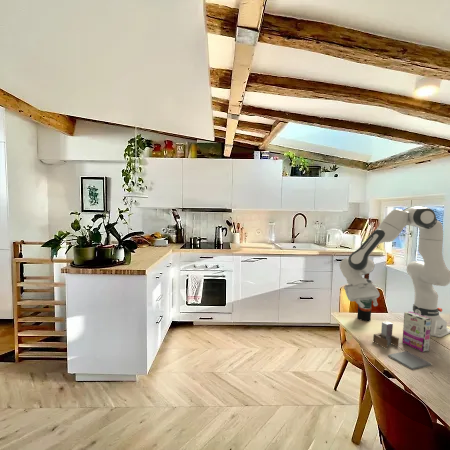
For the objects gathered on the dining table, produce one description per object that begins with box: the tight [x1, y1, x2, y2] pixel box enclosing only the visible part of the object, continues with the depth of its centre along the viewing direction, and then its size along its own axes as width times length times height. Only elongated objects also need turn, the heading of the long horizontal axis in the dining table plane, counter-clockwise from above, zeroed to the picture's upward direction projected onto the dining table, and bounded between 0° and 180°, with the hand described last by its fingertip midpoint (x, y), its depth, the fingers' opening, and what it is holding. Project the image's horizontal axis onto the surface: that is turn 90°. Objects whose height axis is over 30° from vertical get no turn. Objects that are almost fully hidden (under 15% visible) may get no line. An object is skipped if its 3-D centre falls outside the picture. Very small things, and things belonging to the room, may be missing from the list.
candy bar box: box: [401, 311, 432, 353], centre depth 151 cm, size 11×5×16 cm, turn 23°
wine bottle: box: [356, 273, 373, 322], centre depth 187 cm, size 8×8×30 cm
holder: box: [372, 332, 400, 349], centre depth 154 cm, size 9×7×4 cm
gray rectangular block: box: [380, 321, 394, 346], centre depth 154 cm, size 4×3×11 cm
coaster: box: [387, 350, 432, 370], centre depth 138 cm, size 12×12×1 cm
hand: (369, 306), depth 164 cm, fingers open, 8 cm apart
